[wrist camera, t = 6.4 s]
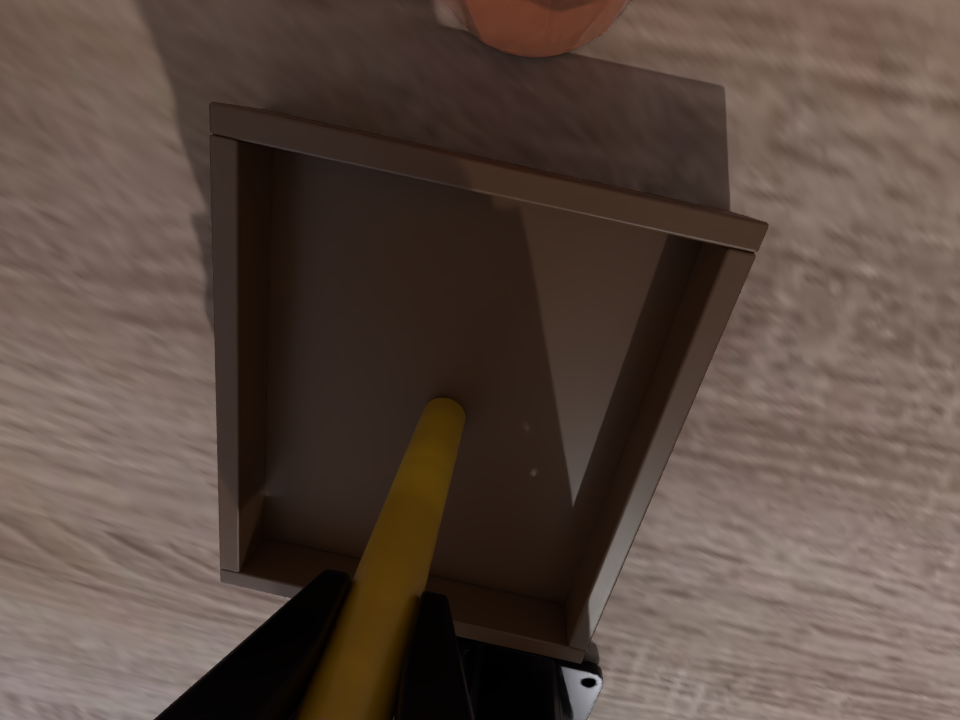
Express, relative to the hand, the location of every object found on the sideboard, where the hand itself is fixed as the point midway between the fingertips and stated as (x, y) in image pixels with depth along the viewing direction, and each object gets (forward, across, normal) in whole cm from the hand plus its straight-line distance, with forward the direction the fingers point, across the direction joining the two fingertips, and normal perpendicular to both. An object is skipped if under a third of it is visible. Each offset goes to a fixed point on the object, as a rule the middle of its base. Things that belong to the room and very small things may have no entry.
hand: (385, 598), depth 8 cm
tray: (+7, 0, 0) cm, 7 cm away
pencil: (+6, 0, 0) cm, 6 cm away
